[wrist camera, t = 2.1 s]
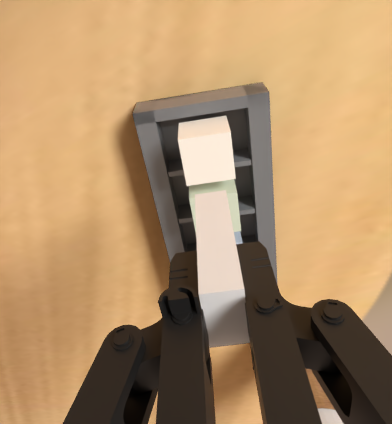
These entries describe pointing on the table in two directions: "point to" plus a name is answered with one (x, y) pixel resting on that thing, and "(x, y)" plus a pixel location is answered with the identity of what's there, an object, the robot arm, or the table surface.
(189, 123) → the key cream
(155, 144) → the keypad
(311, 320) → the robot arm
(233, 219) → the key sage
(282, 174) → the table surface
